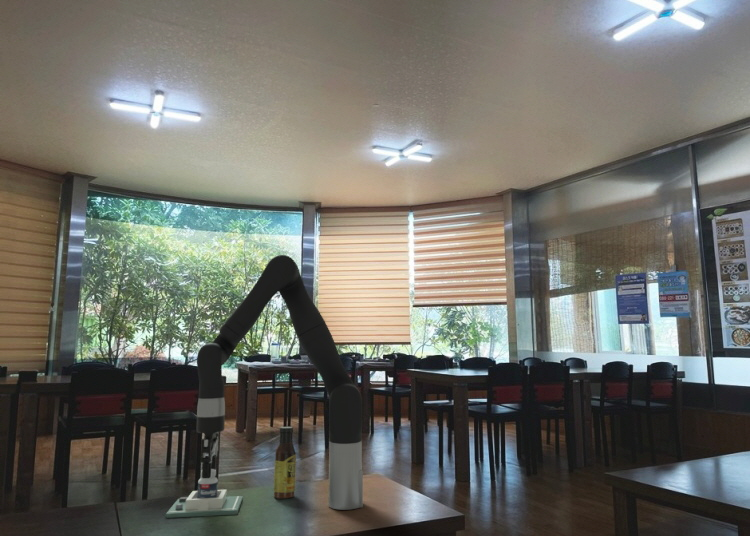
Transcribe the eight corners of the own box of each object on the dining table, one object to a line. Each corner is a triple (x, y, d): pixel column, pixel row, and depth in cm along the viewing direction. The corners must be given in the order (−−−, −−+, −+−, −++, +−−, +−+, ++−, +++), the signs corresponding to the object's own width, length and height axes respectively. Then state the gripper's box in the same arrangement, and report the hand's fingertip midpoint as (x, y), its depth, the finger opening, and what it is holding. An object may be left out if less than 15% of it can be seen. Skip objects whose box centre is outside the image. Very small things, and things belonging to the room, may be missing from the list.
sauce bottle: (290, 500, 146) (291, 429, 150) (270, 499, 148) (272, 428, 151) (298, 494, 153) (299, 426, 156) (278, 493, 154) (280, 425, 157)
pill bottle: (197, 507, 136) (199, 473, 138) (195, 502, 141) (197, 469, 142) (218, 505, 138) (219, 471, 140) (215, 500, 143) (216, 467, 145)
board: (242, 499, 147) (243, 486, 148) (237, 514, 134) (237, 500, 134) (178, 502, 145) (178, 489, 145) (165, 517, 131) (166, 503, 132)
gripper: (221, 416, 137) (219, 479, 134) (227, 411, 151) (226, 468, 148) (192, 417, 136) (189, 481, 133) (201, 412, 150) (199, 469, 147)
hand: (209, 474), depth 141 cm, fingers open, 8 cm apart
